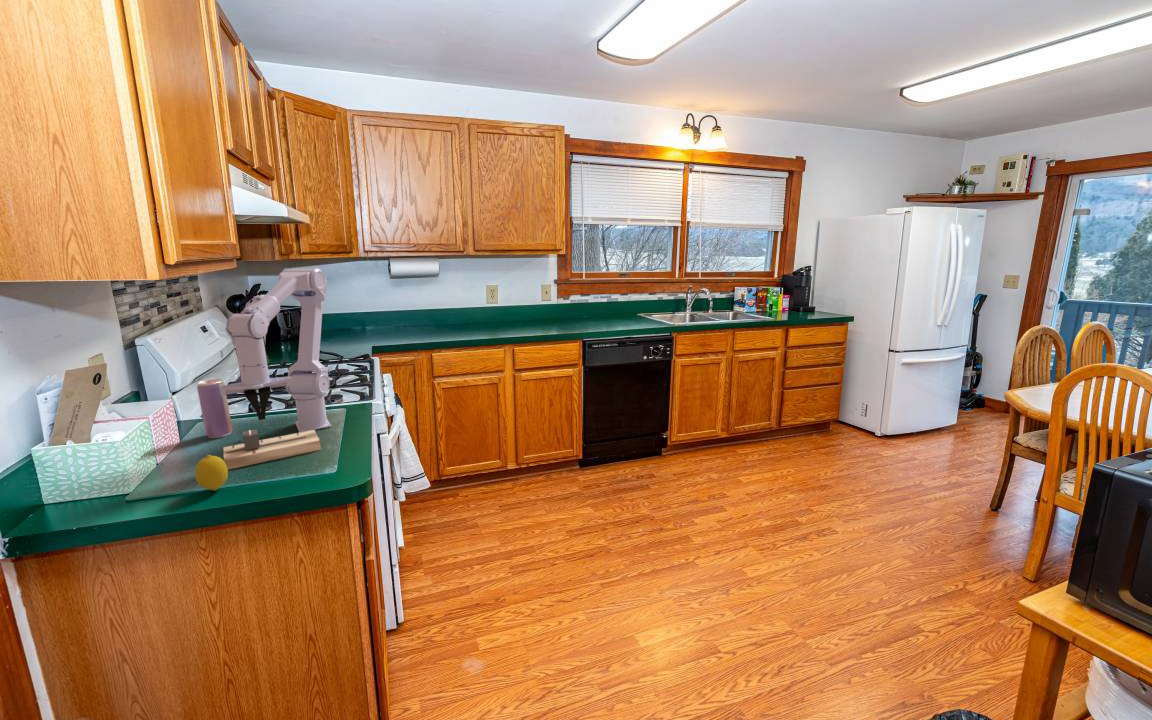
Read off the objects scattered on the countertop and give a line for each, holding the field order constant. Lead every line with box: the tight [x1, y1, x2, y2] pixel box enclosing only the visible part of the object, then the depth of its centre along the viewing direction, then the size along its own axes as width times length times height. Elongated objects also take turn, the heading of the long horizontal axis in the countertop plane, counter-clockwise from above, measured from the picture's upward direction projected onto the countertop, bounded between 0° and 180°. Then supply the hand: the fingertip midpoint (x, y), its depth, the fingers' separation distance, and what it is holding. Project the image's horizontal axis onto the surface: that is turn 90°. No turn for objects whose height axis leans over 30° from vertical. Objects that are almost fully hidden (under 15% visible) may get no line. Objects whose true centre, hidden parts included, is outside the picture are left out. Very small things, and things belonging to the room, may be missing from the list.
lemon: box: [194, 454, 229, 492], centre depth 108 cm, size 6×6×8 cm
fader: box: [242, 428, 260, 450], centre depth 124 cm, size 4×3×4 cm
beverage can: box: [196, 378, 233, 439], centre depth 138 cm, size 6×6×15 cm
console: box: [223, 430, 322, 470], centre depth 127 cm, size 9×20×3 cm, turn 124°
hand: (261, 418), depth 124 cm, fingers closed
